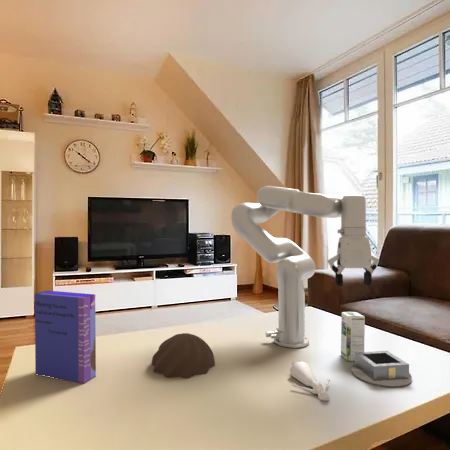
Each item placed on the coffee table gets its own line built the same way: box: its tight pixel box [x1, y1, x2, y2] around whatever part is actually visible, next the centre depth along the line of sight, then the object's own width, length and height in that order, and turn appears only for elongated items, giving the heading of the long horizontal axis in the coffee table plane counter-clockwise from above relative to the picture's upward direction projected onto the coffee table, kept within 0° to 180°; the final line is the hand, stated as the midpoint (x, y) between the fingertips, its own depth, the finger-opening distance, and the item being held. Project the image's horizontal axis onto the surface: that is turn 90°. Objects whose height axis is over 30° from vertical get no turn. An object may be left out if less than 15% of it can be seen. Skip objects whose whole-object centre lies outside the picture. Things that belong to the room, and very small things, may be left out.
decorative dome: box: [151, 332, 216, 379], centre depth 111 cm, size 19×20×10 cm
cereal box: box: [34, 290, 97, 385], centre depth 103 cm, size 17×5×24 cm, turn 71°
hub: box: [351, 350, 413, 388], centre depth 104 cm, size 16×16×5 cm
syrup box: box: [340, 311, 366, 362], centre depth 117 cm, size 6×6×14 cm
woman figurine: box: [289, 360, 331, 402], centre depth 97 cm, size 12×4×18 cm
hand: (353, 285), depth 116 cm, fingers open, 9 cm apart
